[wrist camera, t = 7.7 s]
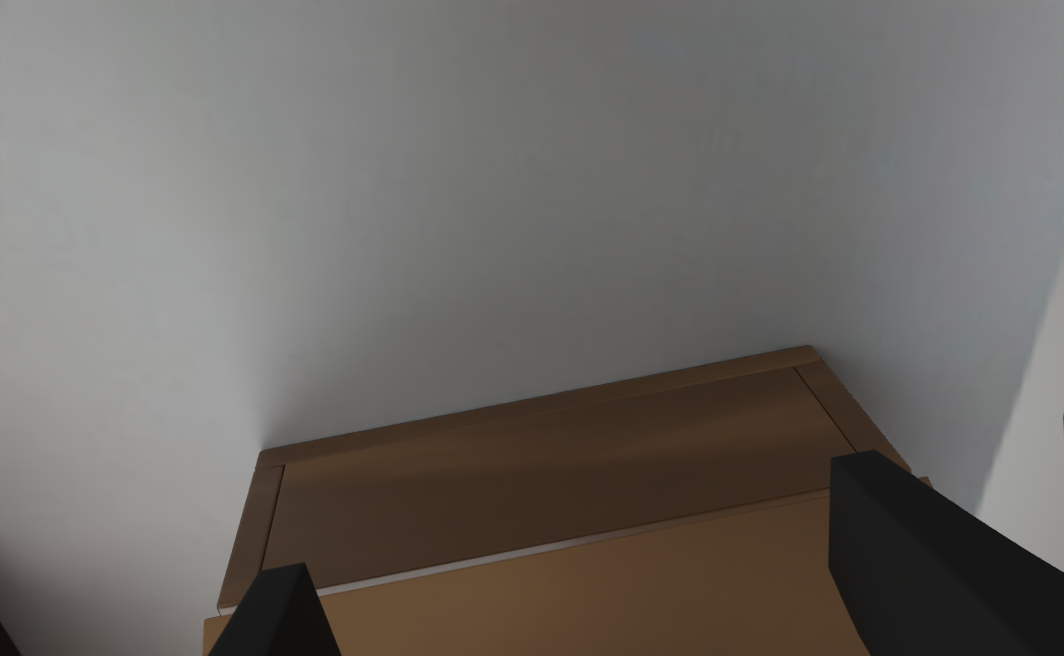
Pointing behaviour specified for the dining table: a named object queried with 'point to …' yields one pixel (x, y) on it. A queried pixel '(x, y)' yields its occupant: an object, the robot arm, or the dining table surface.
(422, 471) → the wooden tray
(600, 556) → the brown box
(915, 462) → the dining table surface
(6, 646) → the book
